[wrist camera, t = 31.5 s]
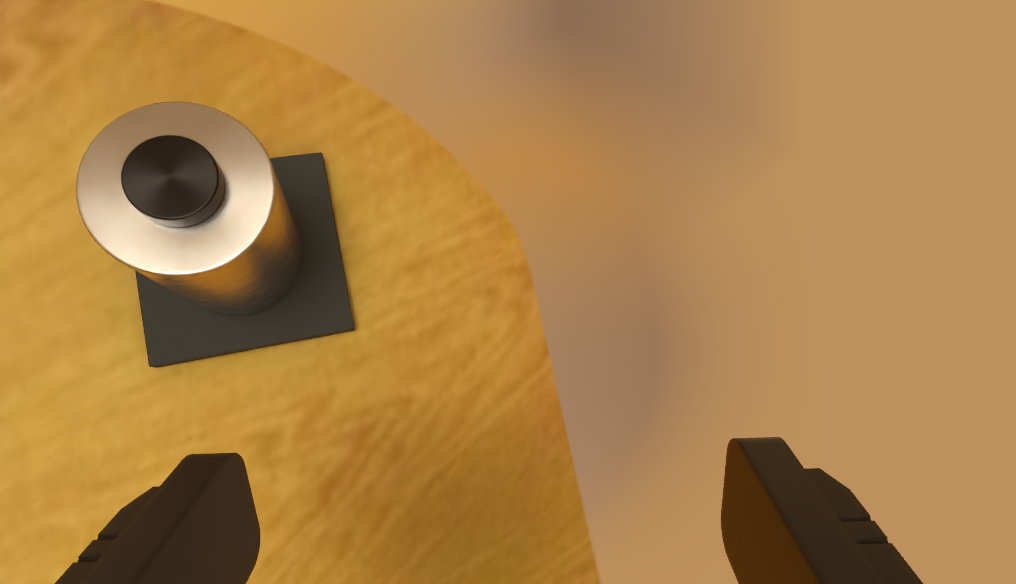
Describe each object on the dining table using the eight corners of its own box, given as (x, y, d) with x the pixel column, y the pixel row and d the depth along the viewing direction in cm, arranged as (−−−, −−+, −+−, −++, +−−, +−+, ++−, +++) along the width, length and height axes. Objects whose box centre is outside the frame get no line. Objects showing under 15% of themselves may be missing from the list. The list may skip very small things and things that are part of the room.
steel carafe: (292, 189, 33) (256, 79, 22) (312, 304, 32) (286, 253, 21) (162, 205, 32) (49, 96, 20) (181, 327, 31) (74, 285, 19)
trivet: (323, 158, 35) (321, 152, 34) (354, 330, 34) (354, 328, 33) (128, 181, 32) (120, 174, 31) (155, 367, 31) (148, 367, 30)
